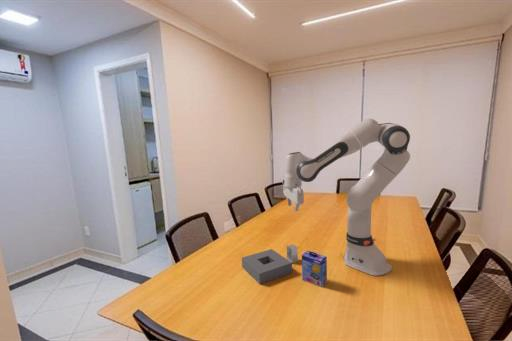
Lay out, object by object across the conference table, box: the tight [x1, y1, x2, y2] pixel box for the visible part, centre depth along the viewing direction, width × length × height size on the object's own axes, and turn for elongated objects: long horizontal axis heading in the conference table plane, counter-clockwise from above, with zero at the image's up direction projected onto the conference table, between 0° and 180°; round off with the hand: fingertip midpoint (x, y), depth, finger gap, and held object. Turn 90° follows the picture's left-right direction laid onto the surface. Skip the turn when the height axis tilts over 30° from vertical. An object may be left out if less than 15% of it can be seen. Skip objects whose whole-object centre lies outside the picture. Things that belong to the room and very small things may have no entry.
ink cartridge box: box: [301, 250, 328, 288], centre depth 110 cm, size 10×6×14 cm, turn 51°
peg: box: [286, 244, 299, 264], centre depth 129 cm, size 4×4×8 cm
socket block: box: [241, 248, 293, 285], centre depth 121 cm, size 18×18×5 cm
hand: (292, 208), depth 132 cm, fingers open, 8 cm apart
